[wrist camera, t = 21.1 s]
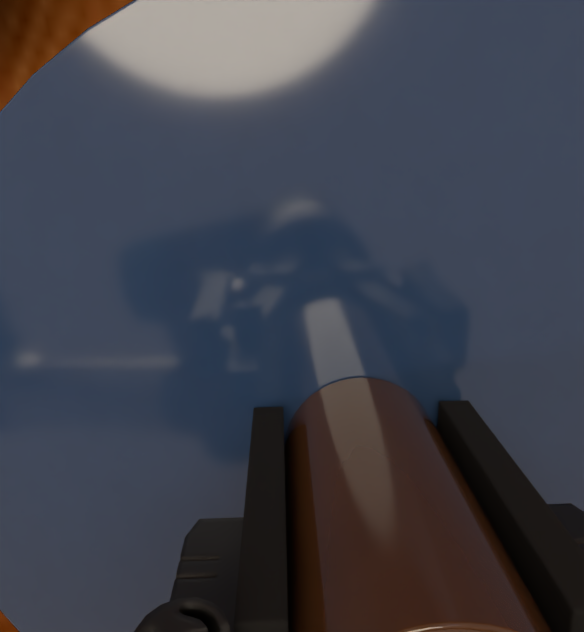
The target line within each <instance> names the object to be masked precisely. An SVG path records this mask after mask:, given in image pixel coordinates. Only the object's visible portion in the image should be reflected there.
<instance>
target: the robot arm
mask: <svg viewBox="0 0 584 632" xmlns="http://www.w3.org/2000/svg"><path fill="white" fill-rule="evenodd" d="M437 431H438V432H439V434H440V436H441V438H442V439H443V441H444V443H445V445H446V446H447V448H448V450H449V452H450V453H451V455H452V457H453V459H454V460H455V462H456V464H457V466H458V467H459V469H460V471H461V473H462V474H463V476H464V478H465V480H466V481H467V483H468V485H469V487H470V488H471V490H472V492H473V494H474V495H475V497H476V499H477V501H478V502H479V504H480V506H481V508H482V510H483V511H484V513H485V515H486V517H487V518H488V520H489V522H490V524H491V525H492V527H493V529H494V531H495V532H496V534H497V536H498V538H499V539H500V541H501V543H502V545H503V546H504V548H505V550H506V552H507V553H508V555H509V557H510V559H511V560H512V562H513V564H514V566H515V567H516V569H517V571H518V573H519V574H520V576H521V578H522V580H523V581H524V583H525V585H526V587H527V588H528V590H529V592H530V594H531V595H532V597H533V599H534V601H535V603H536V604H537V606H538V608H539V610H540V611H541V613H542V615H543V617H544V618H545V620H546V622H547V624H548V625H549V627H550V629H551V631H552V632H584V512H583V511H582V510H581V509H579V508H578V507H576V506H575V505H573V504H572V503H566V504H547V503H546V502H545V501H544V499H543V498H542V497H541V495H540V494H539V493H538V491H537V490H536V489H535V488H534V486H533V485H532V484H531V482H530V481H529V480H528V478H527V477H526V476H525V474H524V473H523V472H522V470H521V469H520V468H519V467H518V465H517V464H516V463H515V461H514V460H513V459H512V457H511V456H510V455H509V453H508V452H507V451H506V449H505V448H504V447H503V445H502V444H501V443H500V442H499V440H498V439H497V438H496V436H495V435H494V434H493V432H492V431H491V430H490V428H489V427H488V426H487V424H486V423H485V422H484V421H483V419H482V418H481V417H480V415H479V414H478V413H477V411H476V410H475V409H474V407H473V406H472V405H471V403H470V402H469V401H468V400H464V401H439V410H438V425H437ZM134 632H289V616H288V574H287V531H286V488H285V447H284V416H283V407H258V408H254V410H253V421H252V431H251V442H250V453H249V464H248V475H247V485H246V496H245V507H244V517H237V518H211V519H199V520H198V521H197V523H196V524H195V525H194V526H193V528H192V529H191V530H190V531H189V533H188V534H187V535H186V536H185V539H184V543H183V547H182V552H181V556H180V562H179V564H178V568H177V572H176V579H175V581H174V585H173V589H172V593H171V598H170V602H167V603H164V604H161V605H160V606H158V607H157V608H156V609H154V610H153V611H151V612H150V613H149V614H147V615H146V616H145V617H144V619H143V620H142V621H141V623H140V624H139V625H138V627H137V628H136V629H135V631H134Z"/></svg>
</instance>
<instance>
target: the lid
mask: <svg viewBox="0 0 584 632" xmlns="http://www.w3.org/2000/svg"><path fill="white" fill-rule="evenodd" d="M464 400H468V401H469V402H470V403H471V405H472V406H473V407H474V409H475V410H476V411H477V413H478V414H479V415H480V417H481V418H482V419H483V421H484V422H485V423H486V424H487V426H488V427H489V428H490V430H491V431H492V432H493V434H494V435H495V436H496V438H497V439H498V440H499V442H500V443H501V444H502V445H503V447H504V448H505V449H506V451H507V452H508V453H509V455H510V456H511V457H512V459H513V460H514V461H515V463H516V464H517V465H518V467H519V468H520V469H521V470H522V472H523V473H524V474H525V476H526V477H527V478H528V480H529V481H530V482H531V484H532V485H533V486H534V488H535V489H536V490H537V491H538V493H539V494H540V495H541V497H542V498H543V499H544V501H545V502H546V503H547V504H566V503H572V504H573V505H575V506H576V507H578V508H579V509H581V510H582V511H583V512H584V0H134V1H132V2H130V3H129V4H127V5H125V6H124V7H122V8H120V9H119V10H117V11H115V12H114V13H112V14H111V15H109V16H107V17H106V18H104V19H102V20H101V21H99V22H97V23H96V24H94V25H93V26H91V27H89V28H88V29H86V30H85V31H84V32H83V33H82V34H81V35H79V36H78V37H77V38H76V39H75V40H73V41H72V42H71V43H70V44H69V45H67V46H66V47H65V48H64V49H63V50H61V51H60V52H59V53H58V54H57V55H56V56H54V57H53V58H52V59H51V60H50V61H48V62H47V63H46V64H45V65H44V66H42V67H41V68H40V69H39V70H38V71H36V72H35V73H34V74H33V75H32V76H31V77H30V79H29V80H28V81H27V82H26V83H25V84H24V85H23V87H22V88H21V89H20V90H19V91H18V92H17V93H16V95H15V96H14V97H13V98H12V99H11V100H10V101H9V102H8V104H7V105H6V106H5V107H4V108H3V109H2V110H1V112H0V611H1V612H2V613H3V614H4V615H5V616H6V618H7V619H8V620H9V621H10V622H11V623H12V624H13V625H14V627H15V628H16V629H17V630H18V631H19V632H134V631H135V629H136V628H137V627H138V625H139V624H140V623H141V621H142V620H143V619H144V617H145V616H146V615H147V614H149V613H150V612H151V611H153V610H154V609H156V608H157V607H158V606H160V605H161V604H164V603H167V602H170V598H171V593H172V589H173V585H174V581H175V579H176V572H177V568H178V564H179V562H180V556H181V552H182V547H183V543H184V539H185V536H186V535H187V534H188V533H189V531H190V530H191V529H192V528H193V526H194V525H195V524H196V523H197V521H198V520H199V519H211V518H237V517H244V507H245V496H246V485H247V475H248V464H249V453H250V442H251V431H252V421H253V410H254V408H258V407H283V416H284V447H285V488H286V531H287V574H288V616H289V632H552V631H551V629H550V627H549V625H548V624H547V622H546V620H545V618H544V617H543V615H542V613H541V611H540V610H539V608H538V606H537V604H536V603H535V601H534V599H533V597H532V595H531V594H530V592H529V590H528V588H527V587H526V585H525V583H524V581H523V580H522V578H521V576H520V574H519V573H518V571H517V569H516V567H515V566H514V564H513V562H512V560H511V559H510V557H509V555H508V553H507V552H506V550H505V548H504V546H503V545H502V543H501V541H500V539H499V538H498V536H497V534H496V532H495V531H494V529H493V527H492V525H491V524H490V522H489V520H488V518H487V517H486V515H485V513H484V511H483V510H482V508H481V506H480V504H479V502H478V501H477V499H476V497H475V495H474V494H473V492H472V490H471V488H470V487H469V485H468V483H467V481H466V480H465V478H464V476H463V474H462V473H461V471H460V469H459V467H458V466H457V464H456V462H455V460H454V459H453V457H452V455H451V453H450V452H449V450H448V448H447V446H446V445H445V443H444V441H443V439H442V438H441V436H440V434H439V432H438V431H437V425H438V410H439V401H464Z"/></svg>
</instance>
